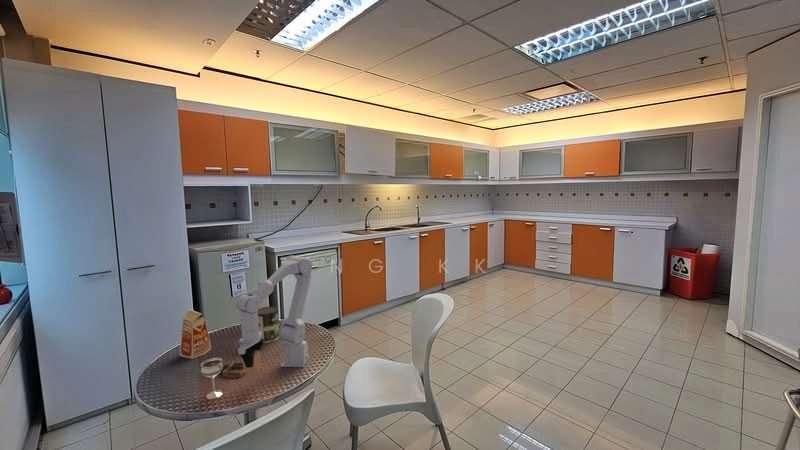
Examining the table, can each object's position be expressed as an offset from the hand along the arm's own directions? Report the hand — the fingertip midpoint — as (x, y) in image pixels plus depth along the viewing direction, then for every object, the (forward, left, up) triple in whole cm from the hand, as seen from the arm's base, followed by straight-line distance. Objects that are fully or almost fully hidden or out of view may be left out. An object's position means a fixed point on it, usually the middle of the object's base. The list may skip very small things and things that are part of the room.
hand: (252, 363), depth 123 cm
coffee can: (+11, -38, -9) cm, 40 cm away
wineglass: (+11, +6, -9) cm, 15 cm away
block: (0, 0, -3) cm, 3 cm away
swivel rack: (+15, -9, -8) cm, 19 cm away
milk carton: (+37, -24, -9) cm, 45 cm away
